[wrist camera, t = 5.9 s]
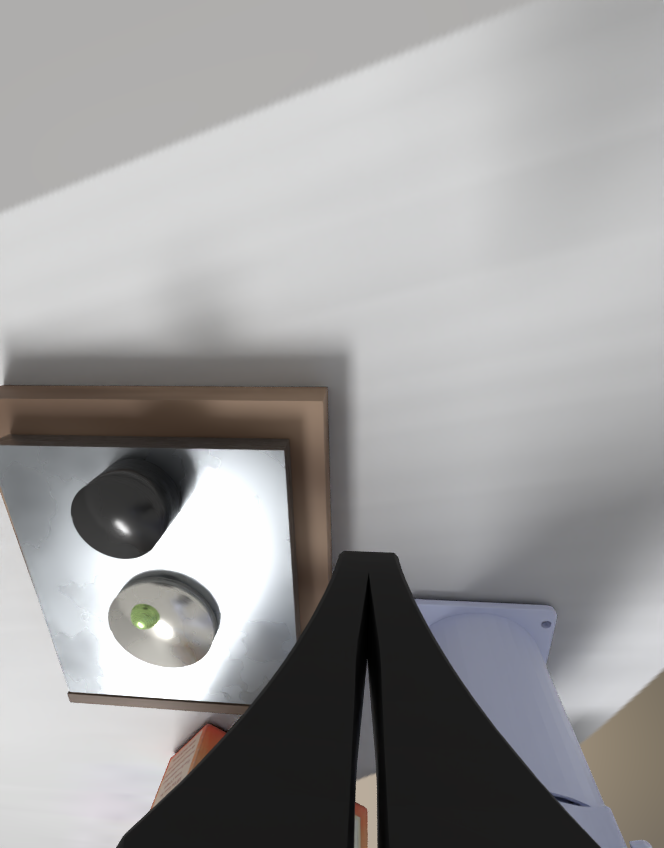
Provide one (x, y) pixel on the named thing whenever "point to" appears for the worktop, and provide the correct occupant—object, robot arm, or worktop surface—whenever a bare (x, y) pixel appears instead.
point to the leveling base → (208, 418)
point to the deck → (159, 559)
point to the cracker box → (200, 748)
